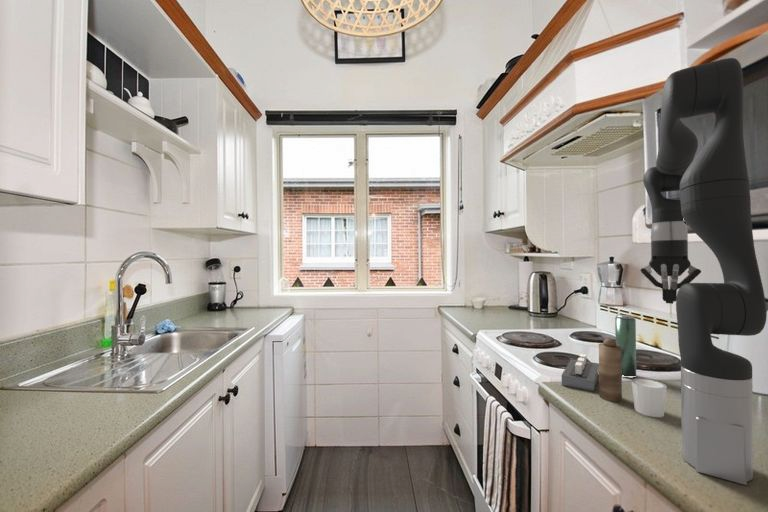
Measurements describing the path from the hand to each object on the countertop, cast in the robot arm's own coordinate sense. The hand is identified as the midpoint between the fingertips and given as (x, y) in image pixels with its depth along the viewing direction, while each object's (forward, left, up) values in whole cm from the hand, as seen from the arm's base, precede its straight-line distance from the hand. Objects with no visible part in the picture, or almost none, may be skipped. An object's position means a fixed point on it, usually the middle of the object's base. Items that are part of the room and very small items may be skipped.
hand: (669, 303), depth 90 cm
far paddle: (+5, +21, -22) cm, 31 cm away
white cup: (-15, +5, -25) cm, 30 cm away
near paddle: (-5, +21, -22) cm, 31 cm away
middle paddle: (0, +21, -22) cm, 30 cm away
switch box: (0, +21, -25) cm, 33 cm away
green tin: (+11, +10, -25) cm, 29 cm away
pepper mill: (-11, +13, -25) cm, 30 cm away
